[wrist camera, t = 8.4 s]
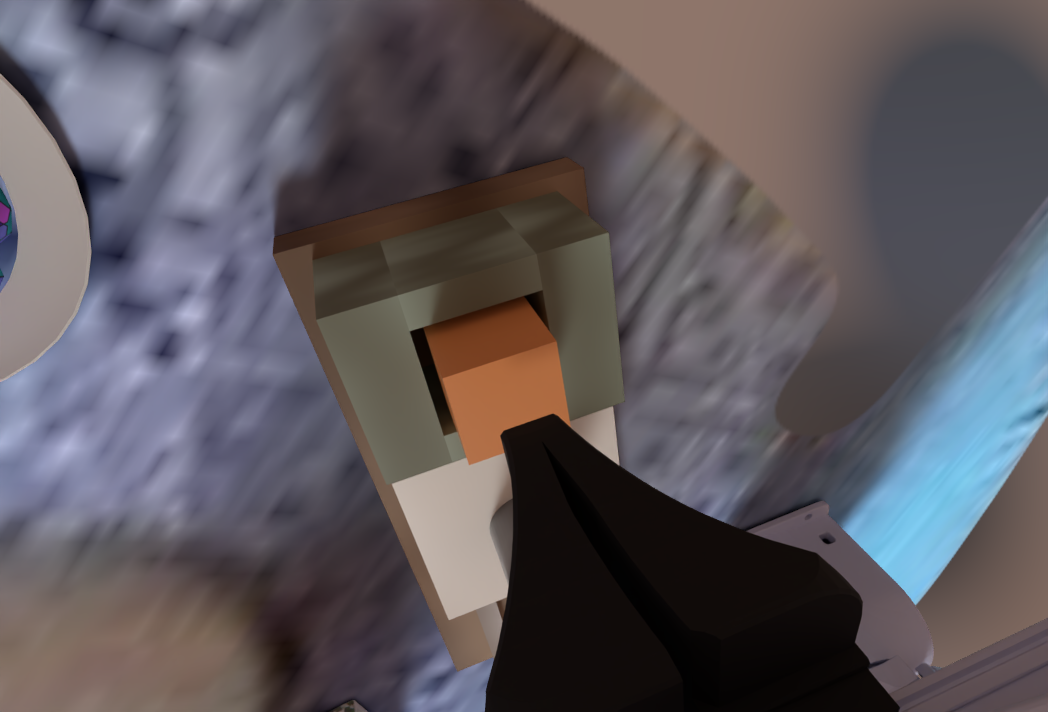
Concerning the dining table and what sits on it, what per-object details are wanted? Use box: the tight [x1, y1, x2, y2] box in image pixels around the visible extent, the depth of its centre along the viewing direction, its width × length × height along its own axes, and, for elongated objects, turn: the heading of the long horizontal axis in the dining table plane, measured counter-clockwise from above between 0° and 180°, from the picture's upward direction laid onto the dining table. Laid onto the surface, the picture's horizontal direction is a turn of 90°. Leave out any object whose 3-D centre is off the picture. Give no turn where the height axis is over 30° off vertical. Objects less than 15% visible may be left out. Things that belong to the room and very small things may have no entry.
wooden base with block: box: [273, 157, 625, 672], centre depth 24 cm, size 10×24×6 cm, turn 10°
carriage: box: [392, 406, 619, 620], centre depth 22 cm, size 8×8×7 cm
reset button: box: [423, 296, 571, 465], centre depth 17 cm, size 3×3×3 cm
